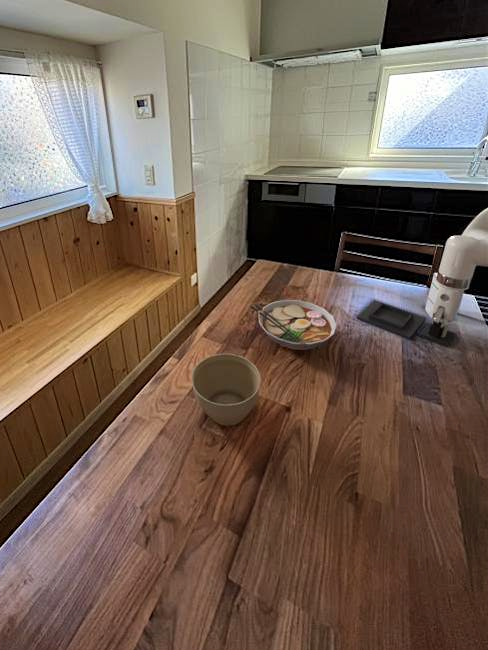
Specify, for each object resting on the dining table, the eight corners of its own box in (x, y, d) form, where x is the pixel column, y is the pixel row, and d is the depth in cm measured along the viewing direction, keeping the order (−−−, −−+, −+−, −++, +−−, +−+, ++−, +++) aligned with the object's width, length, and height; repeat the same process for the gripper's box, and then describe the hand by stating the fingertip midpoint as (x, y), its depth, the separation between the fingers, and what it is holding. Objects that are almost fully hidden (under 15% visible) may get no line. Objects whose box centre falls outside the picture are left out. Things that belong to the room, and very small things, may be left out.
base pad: (425, 320, 110) (426, 314, 109) (409, 340, 102) (411, 334, 101) (373, 302, 121) (374, 297, 120) (356, 318, 113) (357, 313, 112)
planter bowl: (210, 377, 93) (208, 346, 89) (267, 397, 86) (269, 364, 81) (182, 423, 81) (178, 389, 76) (246, 450, 73) (247, 415, 69)
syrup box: (431, 319, 110) (442, 280, 104) (424, 309, 115) (434, 271, 109) (451, 320, 109) (463, 281, 103) (443, 310, 114) (454, 272, 108)
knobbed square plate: (453, 336, 102) (458, 320, 100) (446, 347, 98) (451, 331, 95) (426, 326, 107) (431, 311, 104) (419, 336, 103) (423, 321, 100)
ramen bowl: (353, 349, 100) (357, 327, 96) (293, 378, 91) (295, 354, 88) (295, 309, 120) (296, 289, 117) (241, 329, 112) (241, 308, 109)
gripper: (461, 296, 86) (444, 351, 94) (477, 272, 97) (460, 324, 104) (427, 286, 92) (413, 339, 99) (446, 265, 102) (432, 314, 109)
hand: (438, 331), depth 102 cm, fingers open, 5 cm apart
